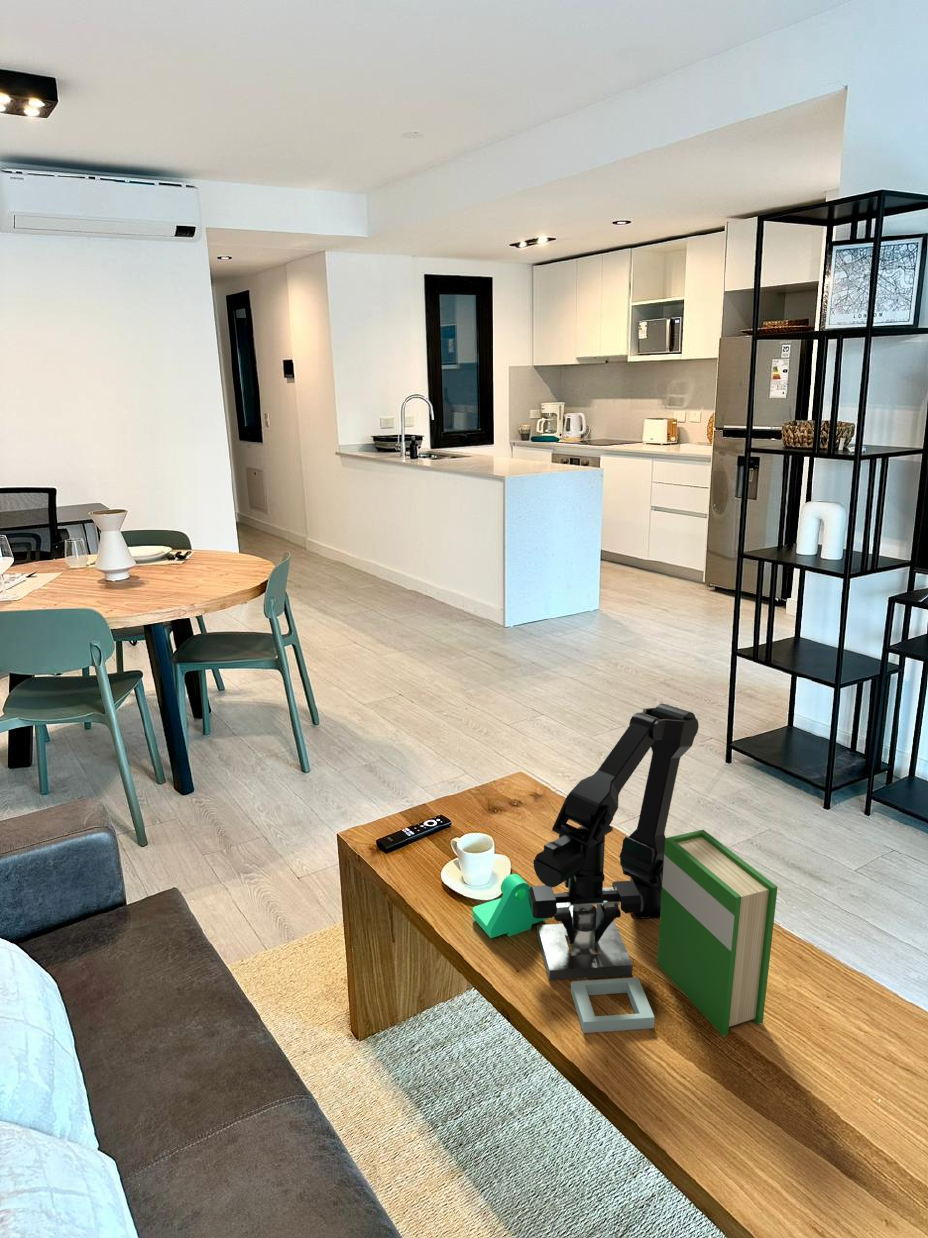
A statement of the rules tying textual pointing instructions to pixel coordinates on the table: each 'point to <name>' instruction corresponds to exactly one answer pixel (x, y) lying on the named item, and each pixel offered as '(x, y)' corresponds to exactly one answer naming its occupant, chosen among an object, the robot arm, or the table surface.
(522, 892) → the camera mount
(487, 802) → the table surface
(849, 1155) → the table surface
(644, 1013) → the square frame
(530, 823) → the table surface
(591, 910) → the chrome metal cylinder
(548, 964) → the socket block
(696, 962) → the hardback book
